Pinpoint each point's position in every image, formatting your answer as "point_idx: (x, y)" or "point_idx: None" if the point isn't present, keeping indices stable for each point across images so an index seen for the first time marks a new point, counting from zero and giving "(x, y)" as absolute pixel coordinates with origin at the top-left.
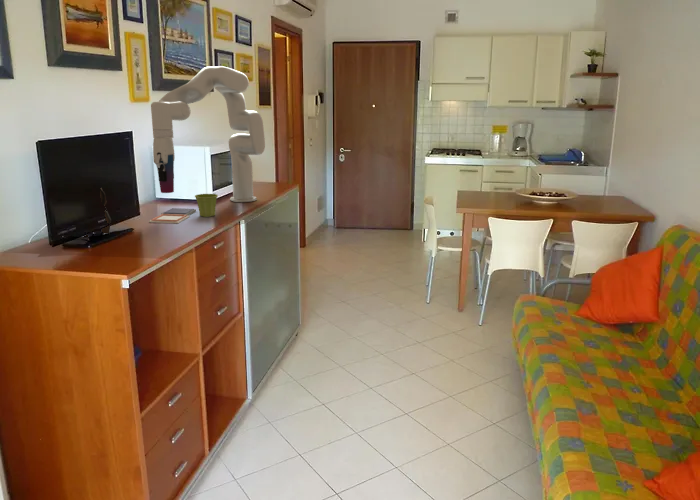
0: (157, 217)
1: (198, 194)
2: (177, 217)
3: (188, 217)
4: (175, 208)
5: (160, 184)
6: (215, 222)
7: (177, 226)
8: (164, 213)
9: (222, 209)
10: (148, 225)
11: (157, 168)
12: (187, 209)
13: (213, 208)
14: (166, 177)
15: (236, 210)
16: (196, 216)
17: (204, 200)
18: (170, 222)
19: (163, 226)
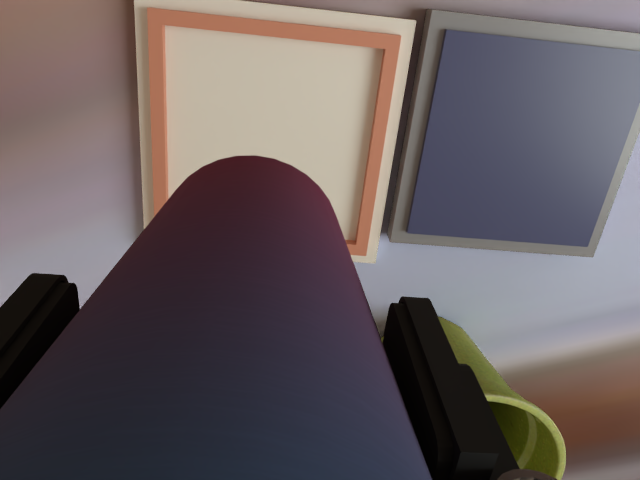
0: (255, 34)
1: (530, 408)
2: None
3: (351, 257)
4: (634, 86)
5: (145, 229)
6: None
7: (51, 265)
8: (433, 43)
9: (626, 391)
10: (20, 27)
11: (11, 423)
12: (567, 205)
13: None
14: None
15: (574, 466)
16: (397, 296)
17: None
18: (143, 187)
19: (22, 168)
